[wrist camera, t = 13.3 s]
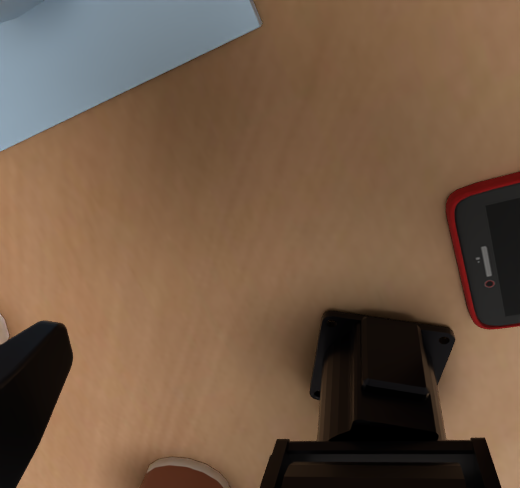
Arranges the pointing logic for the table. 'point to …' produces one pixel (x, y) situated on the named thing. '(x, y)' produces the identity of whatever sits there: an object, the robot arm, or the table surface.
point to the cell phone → (488, 248)
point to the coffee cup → (182, 475)
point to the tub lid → (99, 52)
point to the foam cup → (3, 330)
